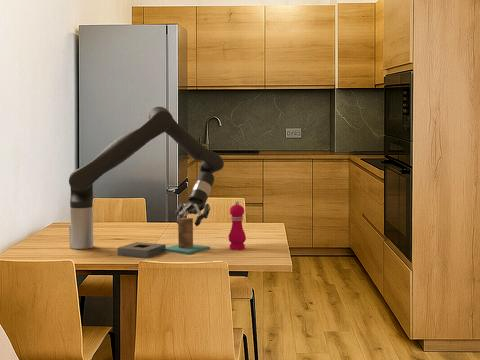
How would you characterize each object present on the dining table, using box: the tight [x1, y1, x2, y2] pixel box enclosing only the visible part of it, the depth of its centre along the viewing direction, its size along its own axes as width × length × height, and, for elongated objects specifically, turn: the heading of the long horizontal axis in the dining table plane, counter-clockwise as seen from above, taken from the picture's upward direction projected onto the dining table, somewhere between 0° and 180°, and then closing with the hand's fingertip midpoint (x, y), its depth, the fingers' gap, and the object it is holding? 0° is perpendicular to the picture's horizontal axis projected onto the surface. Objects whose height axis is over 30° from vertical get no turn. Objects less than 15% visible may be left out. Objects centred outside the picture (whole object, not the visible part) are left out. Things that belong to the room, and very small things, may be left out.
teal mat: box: [166, 244, 211, 255], centre depth 318 cm, size 14×14×1 cm
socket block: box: [117, 241, 167, 259], centre depth 310 cm, size 14×14×3 cm
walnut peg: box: [177, 217, 194, 249], centre depth 317 cm, size 4×4×12 cm
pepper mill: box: [228, 200, 247, 251], centre depth 319 cm, size 7×7×20 cm
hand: (187, 224), depth 318 cm, fingers open, 8 cm apart
